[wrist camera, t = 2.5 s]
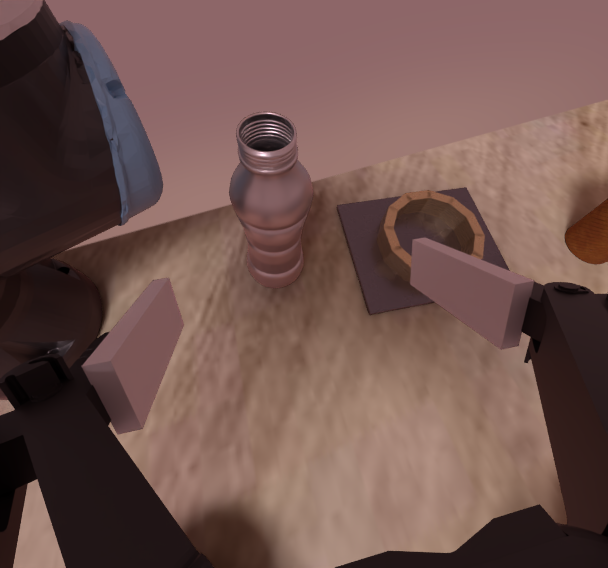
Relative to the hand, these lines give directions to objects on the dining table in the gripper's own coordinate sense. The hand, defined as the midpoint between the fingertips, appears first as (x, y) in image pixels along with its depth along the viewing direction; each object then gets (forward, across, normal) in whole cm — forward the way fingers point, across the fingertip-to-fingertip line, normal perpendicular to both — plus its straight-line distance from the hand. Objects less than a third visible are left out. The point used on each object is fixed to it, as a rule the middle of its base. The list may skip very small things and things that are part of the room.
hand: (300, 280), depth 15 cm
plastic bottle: (+20, 0, -6) cm, 21 cm away
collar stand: (+20, +20, -6) cm, 29 cm away
